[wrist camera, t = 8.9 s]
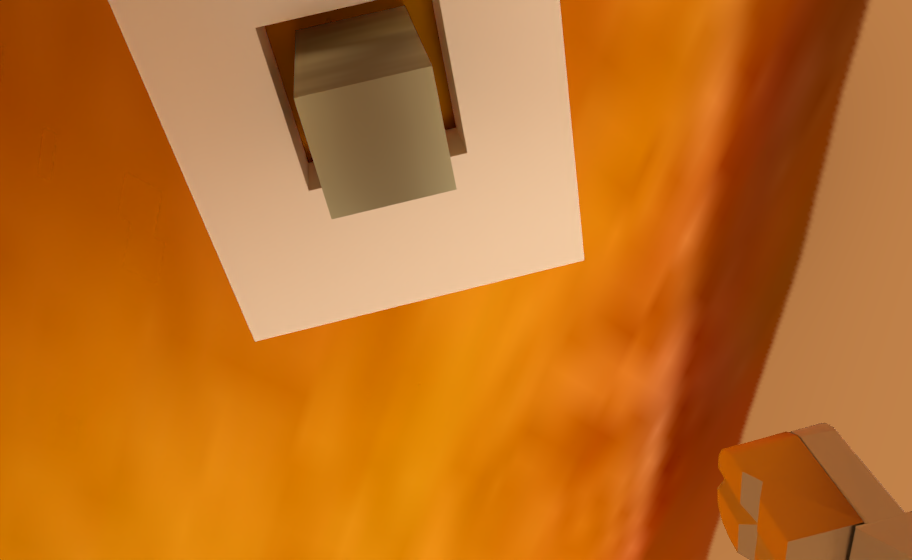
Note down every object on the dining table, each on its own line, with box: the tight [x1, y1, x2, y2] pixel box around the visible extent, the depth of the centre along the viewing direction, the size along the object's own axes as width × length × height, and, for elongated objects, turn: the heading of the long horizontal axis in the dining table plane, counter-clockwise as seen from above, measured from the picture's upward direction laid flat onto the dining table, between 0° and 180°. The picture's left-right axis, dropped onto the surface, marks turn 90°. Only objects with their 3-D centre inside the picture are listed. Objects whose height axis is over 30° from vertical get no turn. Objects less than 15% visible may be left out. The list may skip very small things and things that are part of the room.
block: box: [293, 5, 456, 219], centre depth 25 cm, size 4×4×7 cm
